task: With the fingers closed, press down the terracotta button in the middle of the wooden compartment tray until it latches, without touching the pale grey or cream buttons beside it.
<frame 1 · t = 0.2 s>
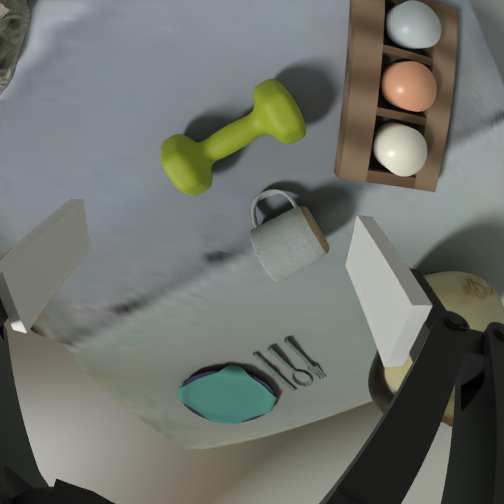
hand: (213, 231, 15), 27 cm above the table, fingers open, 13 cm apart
ceramic cottage: (0, 47, 30), on the table
grey button: (412, 25, 27), point 4 cm above the table, slide at 0.0 cm
dumbbell: (234, 132, 38), on the table
terracotta button: (407, 85, 31), point 4 cm above the table, slide at 0.0 cm
wooden compartment tray: (396, 84, 34), on the table
cream button: (399, 148, 35), point 4 cm above the table, slide at 0.0 cm
cutlery set: (247, 384, 62), on the table
pitcher: (419, 303, 51), on the table
ceramic mug: (281, 222, 44), on the table
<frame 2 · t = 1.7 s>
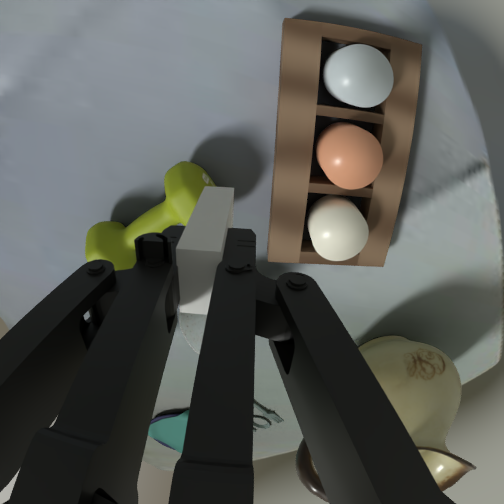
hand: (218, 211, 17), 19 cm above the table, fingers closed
grey button: (356, 75, 26), point 4 cm above the table, slide at 0.0 cm
dumbbell: (159, 212, 38), on the table
terracotta button: (348, 154, 30), point 4 cm above the table, slide at 0.0 cm
wooden compartment tray: (339, 146, 33), on the table
cream button: (336, 227, 34), point 4 cm above the table, slide at 0.0 cm
cutlery set: (209, 424, 62), on the table
pitcher: (374, 361, 50), on the table
ceramic mug: (216, 294, 43), on the table
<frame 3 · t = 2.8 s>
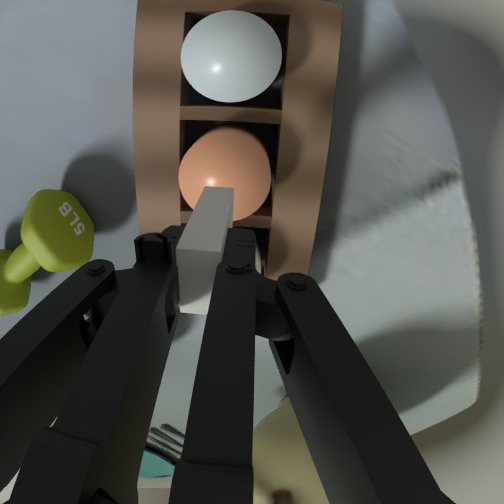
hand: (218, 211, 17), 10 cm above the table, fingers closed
grey button: (233, 57, 18), point 4 cm above the table, slide at 0.0 cm
dumbbell: (44, 240, 30), on the table
terracotta button: (226, 170, 22), point 4 cm above the table, slide at 0.0 cm
wooden compartment tray: (230, 158, 25), on the table
cream button: (223, 267, 26), point 4 cm above the table, slide at 0.0 cm
cutlery set: (147, 450, 54), on the table
pitcher: (313, 407, 43), on the table
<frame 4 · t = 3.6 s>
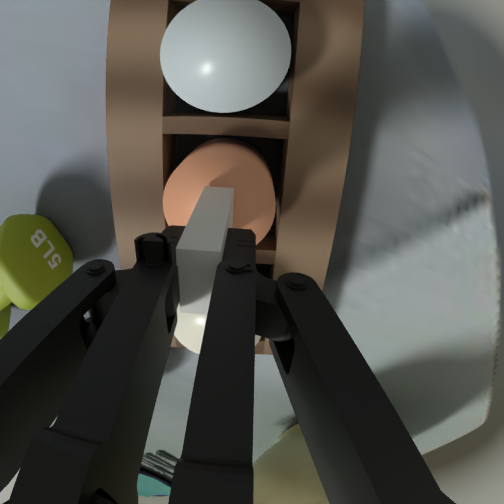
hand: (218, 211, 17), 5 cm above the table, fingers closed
grey button: (228, 54, 14), point 4 cm above the table, slide at 0.0 cm
dumbbell: (22, 266, 26), on the table
terracotta button: (221, 194, 19), point 3 cm above the table, slide at 0.5 cm, touching gripper
wooden compartment tray: (226, 179, 21), on the table
cream button: (218, 308, 22), point 4 cm above the table, slide at 0.0 cm
cutlery set: (143, 471, 50), on the table
pitcher: (317, 436, 39), on the table
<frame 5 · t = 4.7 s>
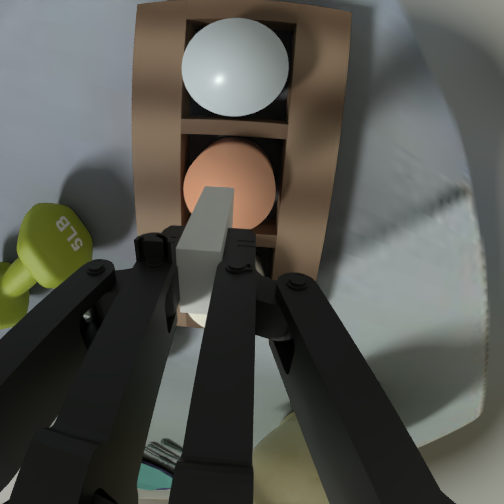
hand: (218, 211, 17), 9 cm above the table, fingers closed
grey button: (236, 68, 18), point 3 cm above the table, slide at 0.0 cm
dumbbell: (42, 254, 29), on the table
terracotta button: (231, 182, 22), point 2 cm above the table, slide at 1.2 cm
wooden compartment tray: (233, 174, 24), on the table
cream button: (226, 287, 25), point 3 cm above the table, slide at 0.0 cm
cutlery set: (147, 463, 52), on the table
pitcher: (317, 423, 41), on the table
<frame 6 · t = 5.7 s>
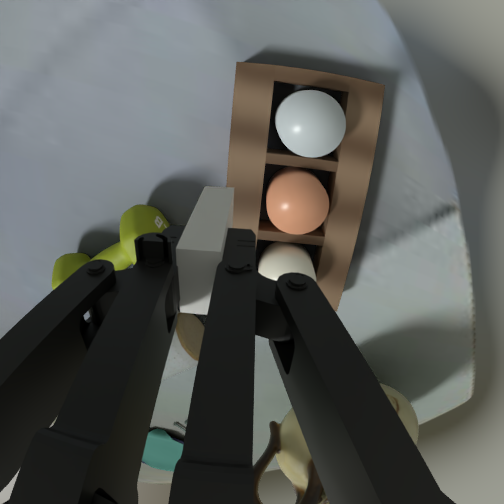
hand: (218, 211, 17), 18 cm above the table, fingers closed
grey button: (308, 121, 27), point 3 cm above the table, slide at 0.0 cm
dumbbell: (121, 247, 38), on the table
terracotta button: (296, 199, 32), point 2 cm above the table, slide at 1.2 cm
wooden compartment tray: (294, 192, 34), on the table
cream button: (286, 273, 35), point 3 cm above the table, slide at 0.0 cm
cutlery set: (177, 443, 61), on the table
pitcher: (335, 395, 51), on the table
ceramic mug: (171, 320, 43), on the table
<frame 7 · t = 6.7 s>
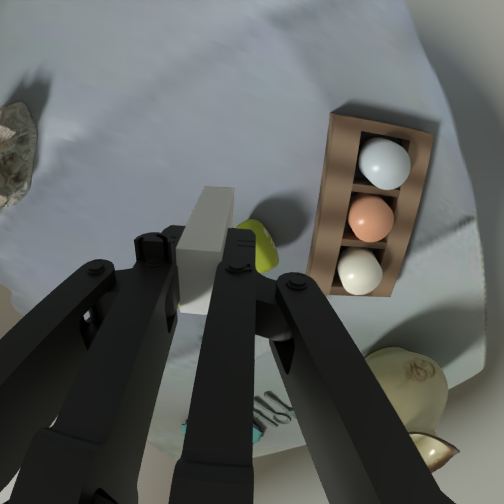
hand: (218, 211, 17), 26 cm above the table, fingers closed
ceramic cottage: (11, 154, 40), on the table
grey button: (383, 162, 37), point 4 cm above the table, slide at 0.0 cm
dumbbell: (221, 252, 49), on the table
terracotta button: (369, 216, 42), point 2 cm above the table, slide at 1.2 cm
wooden compartment tray: (364, 209, 44), on the table
cream button: (359, 270, 45), point 4 cm above the table, slide at 0.0 cm
cutlery set: (237, 422, 73), on the table
pitcher: (379, 367, 62), on the table
ceramic mug: (256, 309, 54), on the table
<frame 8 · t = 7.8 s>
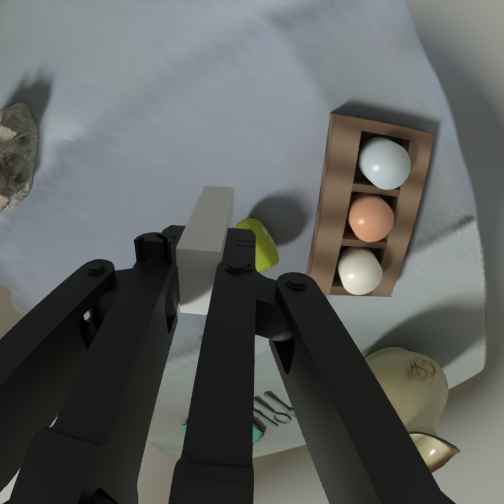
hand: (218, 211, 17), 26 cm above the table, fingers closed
ceramic cottage: (12, 155, 40), on the table
grey button: (383, 162, 37), point 3 cm above the table, slide at 0.0 cm
dumbbell: (221, 252, 49), on the table
terracotta button: (369, 215, 42), point 2 cm above the table, slide at 1.2 cm
wooden compartment tray: (364, 209, 44), on the table
cream button: (359, 269, 45), point 3 cm above the table, slide at 0.0 cm
cutlery set: (238, 422, 73), on the table
pitcher: (379, 366, 62), on the table
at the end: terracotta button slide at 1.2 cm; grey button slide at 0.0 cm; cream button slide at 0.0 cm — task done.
